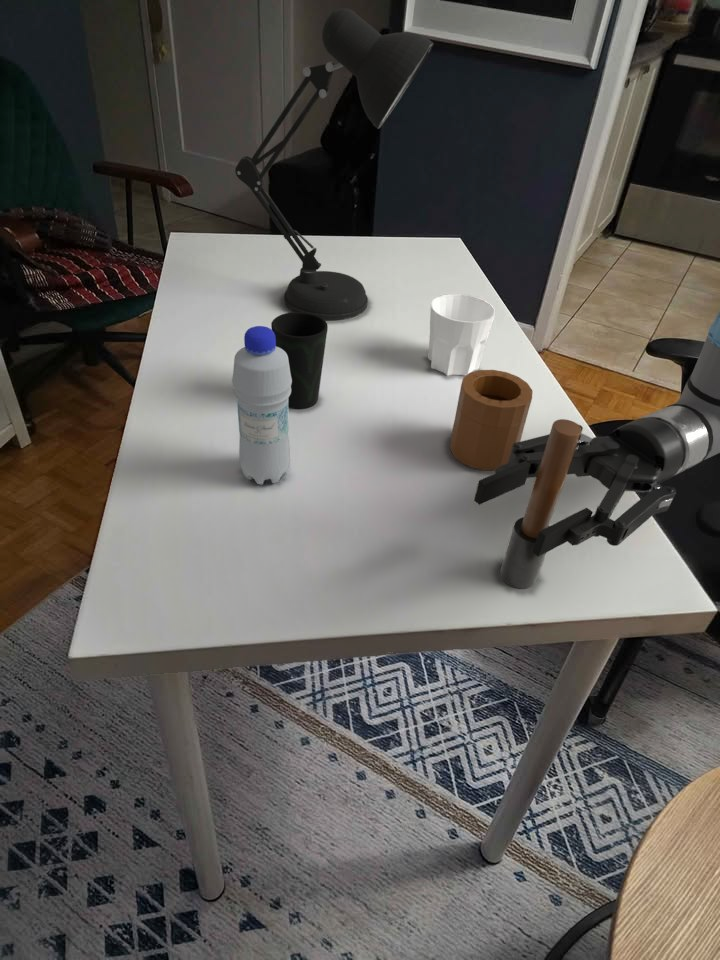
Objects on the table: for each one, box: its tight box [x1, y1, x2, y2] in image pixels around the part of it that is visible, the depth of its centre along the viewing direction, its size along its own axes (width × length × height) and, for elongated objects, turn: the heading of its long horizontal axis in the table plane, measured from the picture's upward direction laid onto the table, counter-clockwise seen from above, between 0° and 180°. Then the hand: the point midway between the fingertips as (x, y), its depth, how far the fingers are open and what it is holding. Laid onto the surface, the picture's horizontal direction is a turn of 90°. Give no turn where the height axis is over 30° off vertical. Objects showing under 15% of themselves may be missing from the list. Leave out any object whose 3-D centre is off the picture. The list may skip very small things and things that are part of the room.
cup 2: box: [427, 293, 496, 377], centre depth 104 cm, size 10×10×10 cm
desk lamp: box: [234, 7, 434, 321], centre depth 107 cm, size 24×26×45 cm
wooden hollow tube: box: [449, 369, 533, 471], centre depth 86 cm, size 9×9×10 cm
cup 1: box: [270, 311, 329, 410], centre depth 92 cm, size 8×8×12 cm
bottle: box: [231, 325, 292, 485], centre depth 76 cm, size 7×7×20 cm
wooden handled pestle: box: [499, 418, 583, 590], centre depth 65 cm, size 4×4×20 cm
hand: (507, 517), depth 62 cm, fingers open, 8 cm apart
